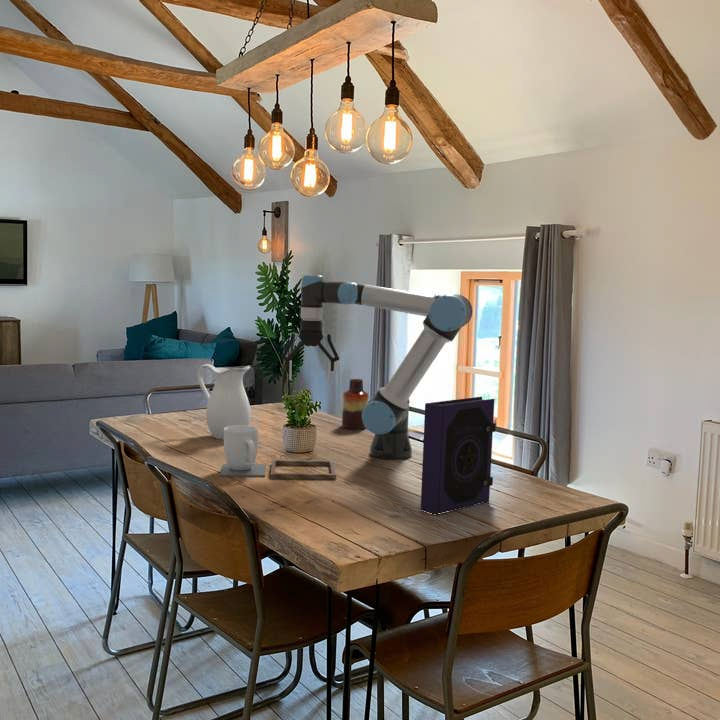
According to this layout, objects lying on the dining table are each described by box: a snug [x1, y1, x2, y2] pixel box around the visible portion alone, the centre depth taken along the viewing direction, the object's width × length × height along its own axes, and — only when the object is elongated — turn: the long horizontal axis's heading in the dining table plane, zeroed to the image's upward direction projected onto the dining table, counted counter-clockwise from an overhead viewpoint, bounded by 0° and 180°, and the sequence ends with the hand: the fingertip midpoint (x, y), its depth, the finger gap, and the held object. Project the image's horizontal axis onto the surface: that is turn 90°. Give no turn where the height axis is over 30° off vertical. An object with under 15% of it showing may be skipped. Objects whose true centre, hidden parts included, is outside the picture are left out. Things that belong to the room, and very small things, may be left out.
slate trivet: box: [219, 463, 267, 478], centre depth 248 cm, size 14×14×1 cm
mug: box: [223, 425, 259, 471], centre depth 246 cm, size 15×11×13 cm
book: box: [420, 396, 497, 514], centre depth 216 cm, size 24×6×30 cm, turn 132°
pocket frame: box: [270, 459, 337, 480], centre depth 250 cm, size 20×18×2 cm
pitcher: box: [196, 363, 251, 441], centre depth 299 cm, size 24×17×28 cm
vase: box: [341, 378, 370, 431], centre depth 326 cm, size 11×11×20 cm
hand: (309, 380), depth 271 cm, fingers open, 13 cm apart
